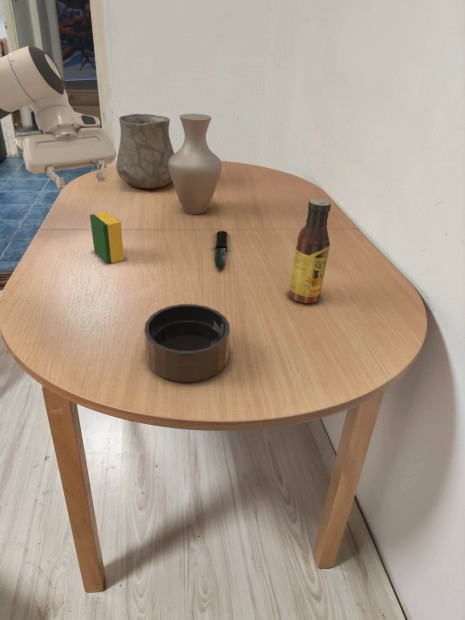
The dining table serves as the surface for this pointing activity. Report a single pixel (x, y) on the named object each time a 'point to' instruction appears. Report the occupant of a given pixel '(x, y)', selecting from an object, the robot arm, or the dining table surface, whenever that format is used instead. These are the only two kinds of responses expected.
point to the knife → (220, 249)
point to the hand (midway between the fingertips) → (82, 183)
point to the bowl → (187, 342)
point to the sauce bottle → (311, 254)
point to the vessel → (144, 150)
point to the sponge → (107, 237)
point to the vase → (195, 166)
